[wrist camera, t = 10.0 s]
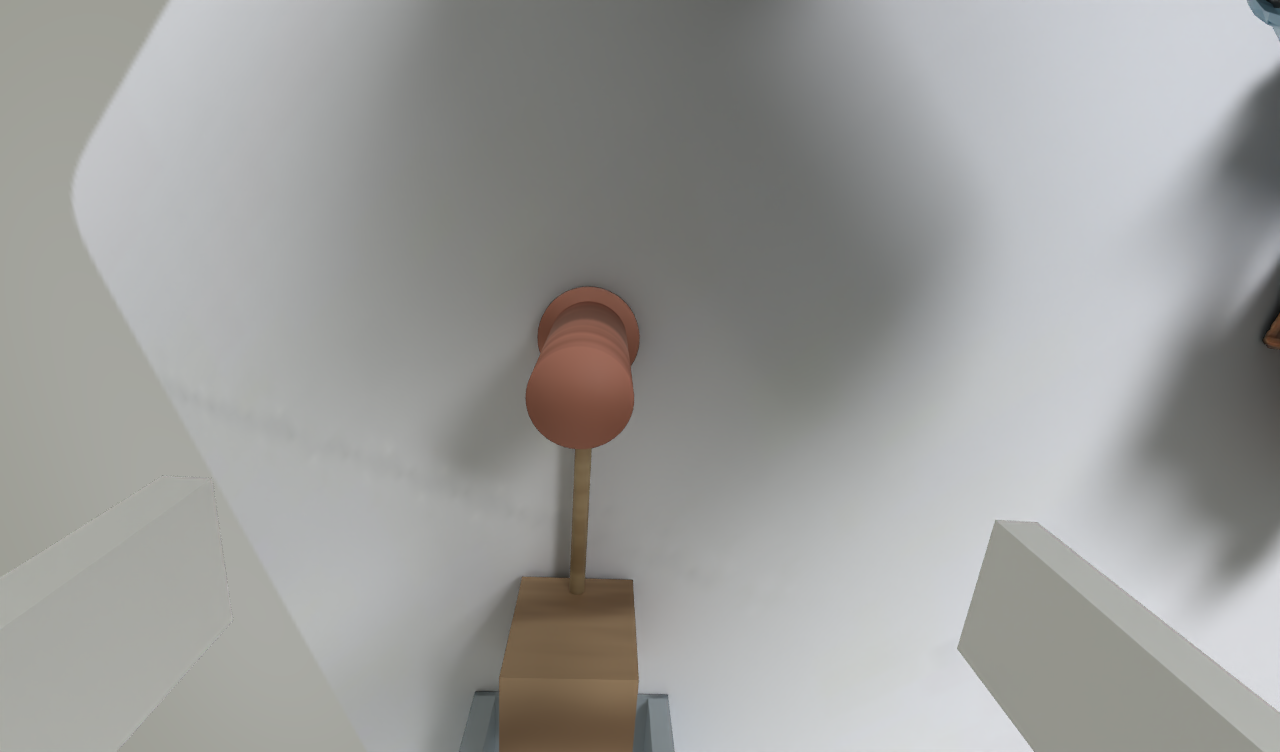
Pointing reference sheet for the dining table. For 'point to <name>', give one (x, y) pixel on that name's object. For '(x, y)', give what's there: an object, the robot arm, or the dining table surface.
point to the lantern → (1273, 335)
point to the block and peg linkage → (575, 548)
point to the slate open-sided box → (649, 733)
